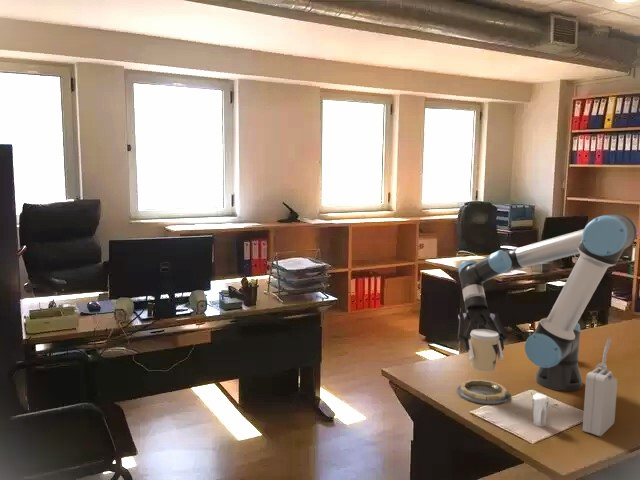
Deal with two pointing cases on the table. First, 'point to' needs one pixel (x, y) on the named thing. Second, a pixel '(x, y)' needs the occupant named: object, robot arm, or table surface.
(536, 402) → the milkshake
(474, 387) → the carrier plate
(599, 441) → the table surface
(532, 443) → the table surface
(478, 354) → the coffee cup
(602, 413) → the fuel canister
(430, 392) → the table surface
